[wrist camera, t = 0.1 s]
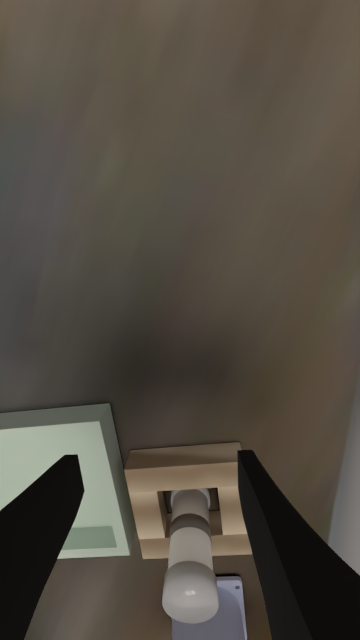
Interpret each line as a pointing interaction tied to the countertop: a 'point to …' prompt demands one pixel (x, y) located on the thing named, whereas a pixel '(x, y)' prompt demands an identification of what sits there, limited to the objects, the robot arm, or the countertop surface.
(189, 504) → the cylinder
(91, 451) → the parts tray
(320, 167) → the countertop surface
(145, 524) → the wooden square frame
